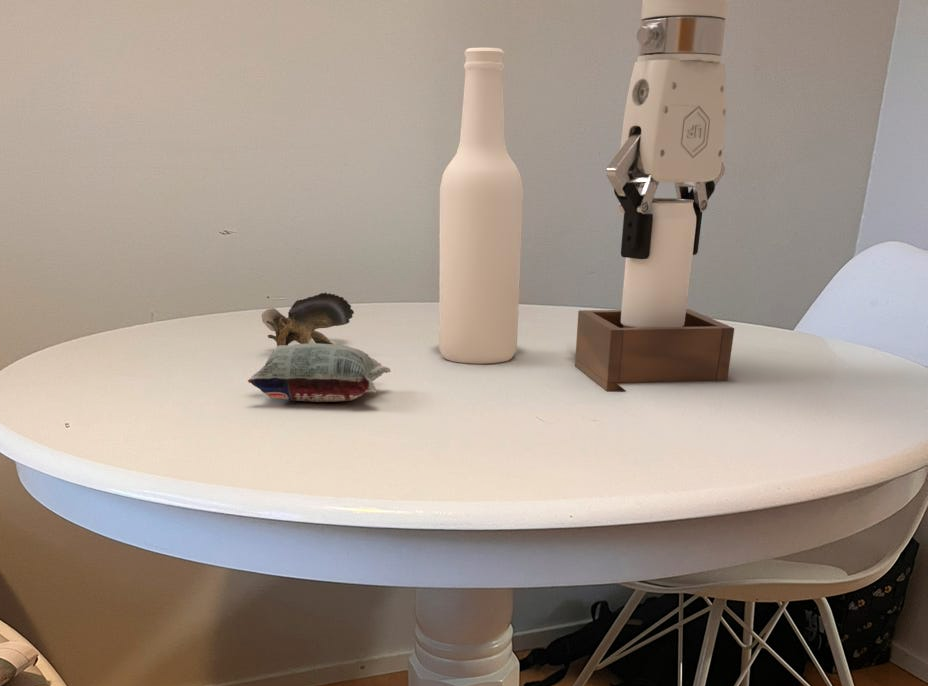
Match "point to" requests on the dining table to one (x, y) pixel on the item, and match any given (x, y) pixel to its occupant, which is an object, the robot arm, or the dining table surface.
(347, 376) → the packaged food
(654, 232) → the can
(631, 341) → the box
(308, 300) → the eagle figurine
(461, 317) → the alcohol
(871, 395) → the dining table surface
